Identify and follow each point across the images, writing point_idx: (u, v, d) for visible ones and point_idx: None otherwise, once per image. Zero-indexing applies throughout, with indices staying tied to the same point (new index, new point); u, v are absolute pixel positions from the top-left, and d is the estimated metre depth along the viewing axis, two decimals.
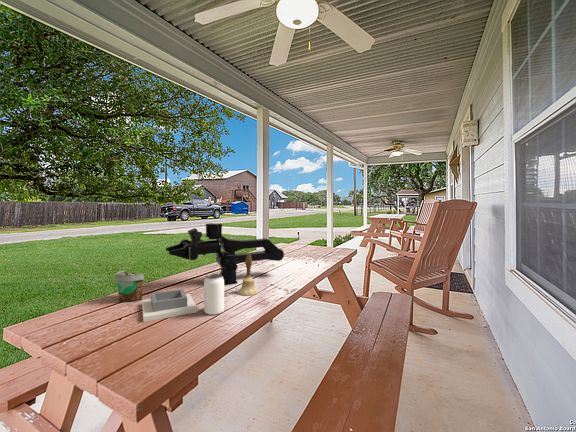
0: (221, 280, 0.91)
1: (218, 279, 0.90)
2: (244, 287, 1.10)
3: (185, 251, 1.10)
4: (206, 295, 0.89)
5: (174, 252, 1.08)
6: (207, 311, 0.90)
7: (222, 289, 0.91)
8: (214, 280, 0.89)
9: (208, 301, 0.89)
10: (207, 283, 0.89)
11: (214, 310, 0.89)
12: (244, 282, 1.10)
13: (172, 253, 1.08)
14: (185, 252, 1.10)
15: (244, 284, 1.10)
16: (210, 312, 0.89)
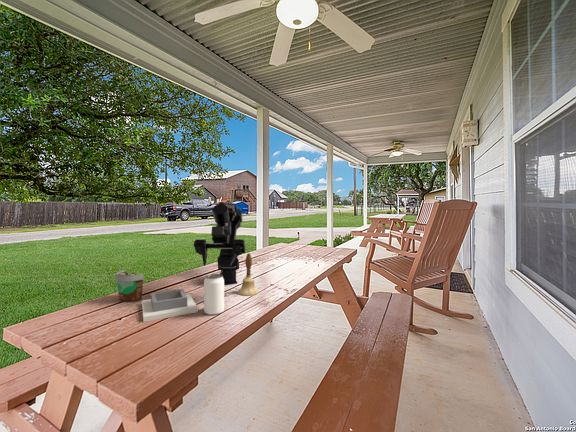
0: (221, 280, 0.91)
1: (218, 279, 0.90)
2: (244, 287, 1.10)
3: None
4: (206, 295, 0.89)
5: (232, 260, 1.01)
6: (207, 311, 0.90)
7: (222, 289, 0.91)
8: (214, 280, 0.89)
9: (208, 301, 0.89)
10: (207, 283, 0.89)
11: (214, 310, 0.89)
12: (244, 282, 1.10)
13: (232, 262, 1.01)
14: None
15: (244, 284, 1.10)
16: (210, 312, 0.89)
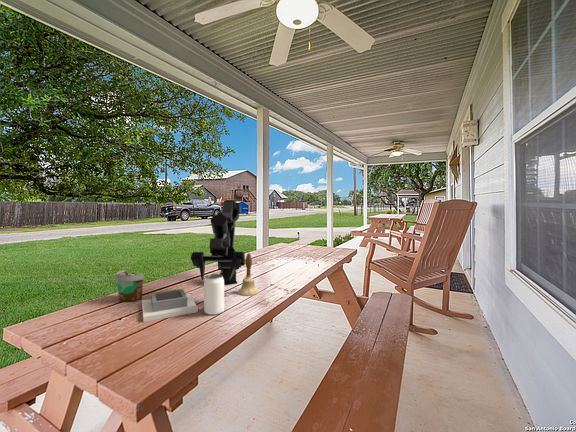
0: (221, 280, 0.91)
1: (218, 279, 0.90)
2: (244, 287, 1.10)
3: None
4: (207, 295, 0.89)
5: (232, 274, 0.96)
6: (207, 311, 0.90)
7: (222, 289, 0.91)
8: (214, 280, 0.89)
9: (208, 300, 0.89)
10: (207, 283, 0.89)
11: (214, 310, 0.89)
12: (244, 282, 1.10)
13: (231, 276, 0.96)
14: None
15: (244, 284, 1.10)
16: (210, 312, 0.89)
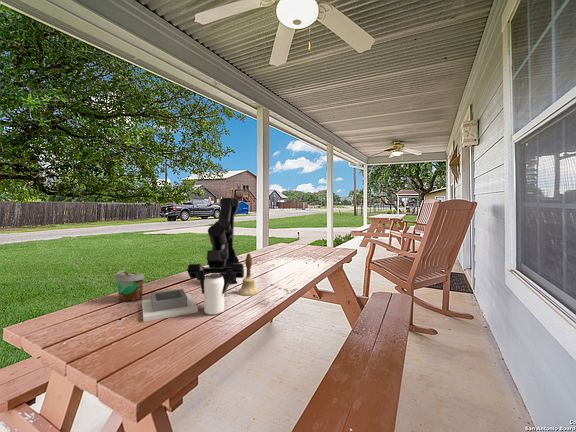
0: (221, 280, 0.91)
1: (218, 279, 0.90)
2: (244, 287, 1.10)
3: None
4: (207, 295, 0.89)
5: (226, 287, 0.92)
6: (207, 311, 0.90)
7: (222, 289, 0.91)
8: (214, 280, 0.89)
9: (208, 300, 0.89)
10: (207, 283, 0.89)
11: (214, 310, 0.89)
12: (244, 282, 1.10)
13: (225, 290, 0.92)
14: None
15: (244, 284, 1.10)
16: (210, 312, 0.89)
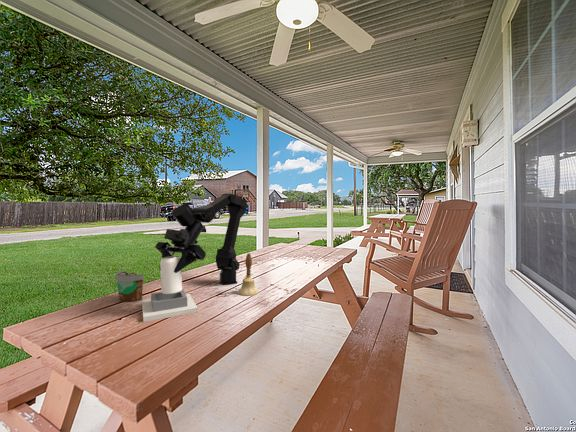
0: (173, 260, 0.92)
1: (169, 259, 0.91)
2: (244, 287, 1.10)
3: (186, 257, 0.94)
4: None
5: (179, 267, 0.92)
6: None
7: (174, 269, 0.92)
8: (165, 260, 0.91)
9: (161, 280, 0.91)
10: (160, 262, 0.92)
11: (166, 289, 0.91)
12: (244, 282, 1.10)
13: (178, 269, 0.92)
14: (187, 258, 0.95)
15: (244, 284, 1.10)
16: (163, 291, 0.91)
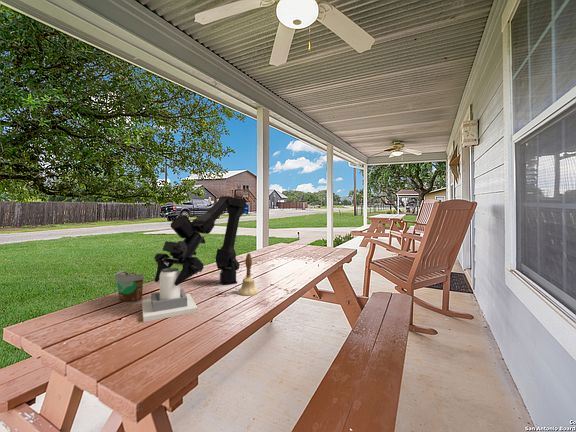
0: (172, 274, 0.91)
1: (169, 273, 0.91)
2: (244, 287, 1.10)
3: (187, 269, 0.94)
4: None
5: (180, 280, 0.92)
6: None
7: (173, 284, 0.92)
8: (164, 273, 0.91)
9: (160, 293, 0.92)
10: (160, 275, 0.92)
11: None
12: (244, 282, 1.10)
13: (179, 282, 0.92)
14: (187, 270, 0.94)
15: (244, 284, 1.10)
16: None
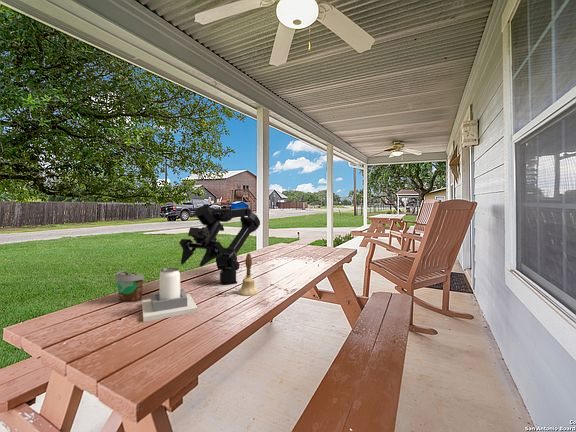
0: (172, 274, 0.91)
1: (168, 273, 0.91)
2: (244, 287, 1.10)
3: (210, 252, 1.05)
4: None
5: (204, 261, 1.03)
6: None
7: (173, 284, 0.92)
8: (164, 274, 0.91)
9: (160, 293, 0.92)
10: None
11: None
12: (244, 282, 1.10)
13: (203, 263, 1.03)
14: (210, 253, 1.05)
15: (244, 284, 1.10)
16: None
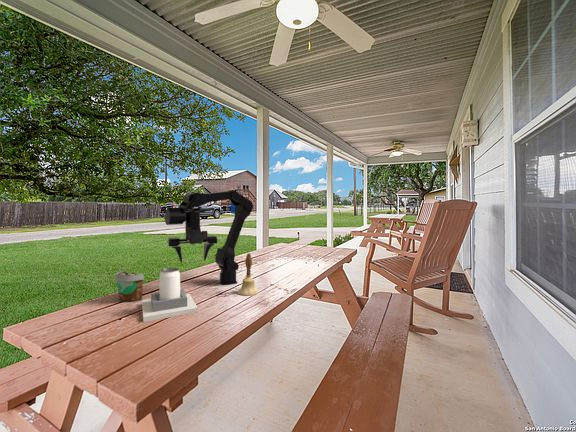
0: (172, 274, 0.91)
1: (168, 273, 0.91)
2: (244, 287, 1.10)
3: None
4: None
5: None
6: None
7: (173, 284, 0.92)
8: (164, 274, 0.91)
9: (160, 293, 0.92)
10: (159, 275, 0.92)
11: None
12: (244, 282, 1.10)
13: None
14: None
15: (244, 284, 1.10)
16: None
